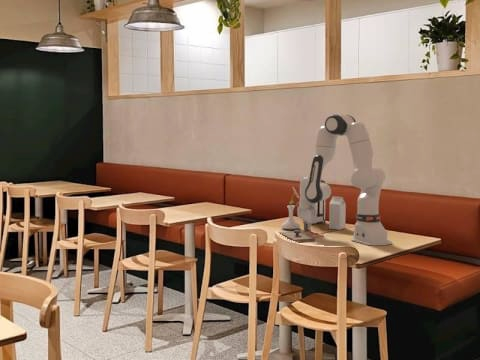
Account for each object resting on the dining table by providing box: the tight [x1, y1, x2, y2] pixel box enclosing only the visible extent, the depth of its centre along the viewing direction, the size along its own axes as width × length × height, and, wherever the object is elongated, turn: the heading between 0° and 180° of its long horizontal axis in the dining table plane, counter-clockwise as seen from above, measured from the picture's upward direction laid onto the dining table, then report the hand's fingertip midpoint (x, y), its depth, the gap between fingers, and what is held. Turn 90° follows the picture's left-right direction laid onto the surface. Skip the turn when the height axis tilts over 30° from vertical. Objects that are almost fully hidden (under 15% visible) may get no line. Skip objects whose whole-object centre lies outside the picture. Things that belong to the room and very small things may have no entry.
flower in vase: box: [281, 186, 301, 230], centre depth 352 cm, size 13×11×25 cm
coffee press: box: [315, 179, 327, 225], centre depth 371 cm, size 17×16×30 cm
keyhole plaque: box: [300, 223, 325, 239], centre depth 335 cm, size 17×7×5 cm, turn 17°
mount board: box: [278, 229, 316, 243], centre depth 325 cm, size 22×12×4 cm, turn 17°
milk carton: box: [328, 195, 347, 230], centre depth 353 cm, size 7×7×19 cm
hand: (307, 228), depth 341 cm, fingers closed on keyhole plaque, 3 cm apart
